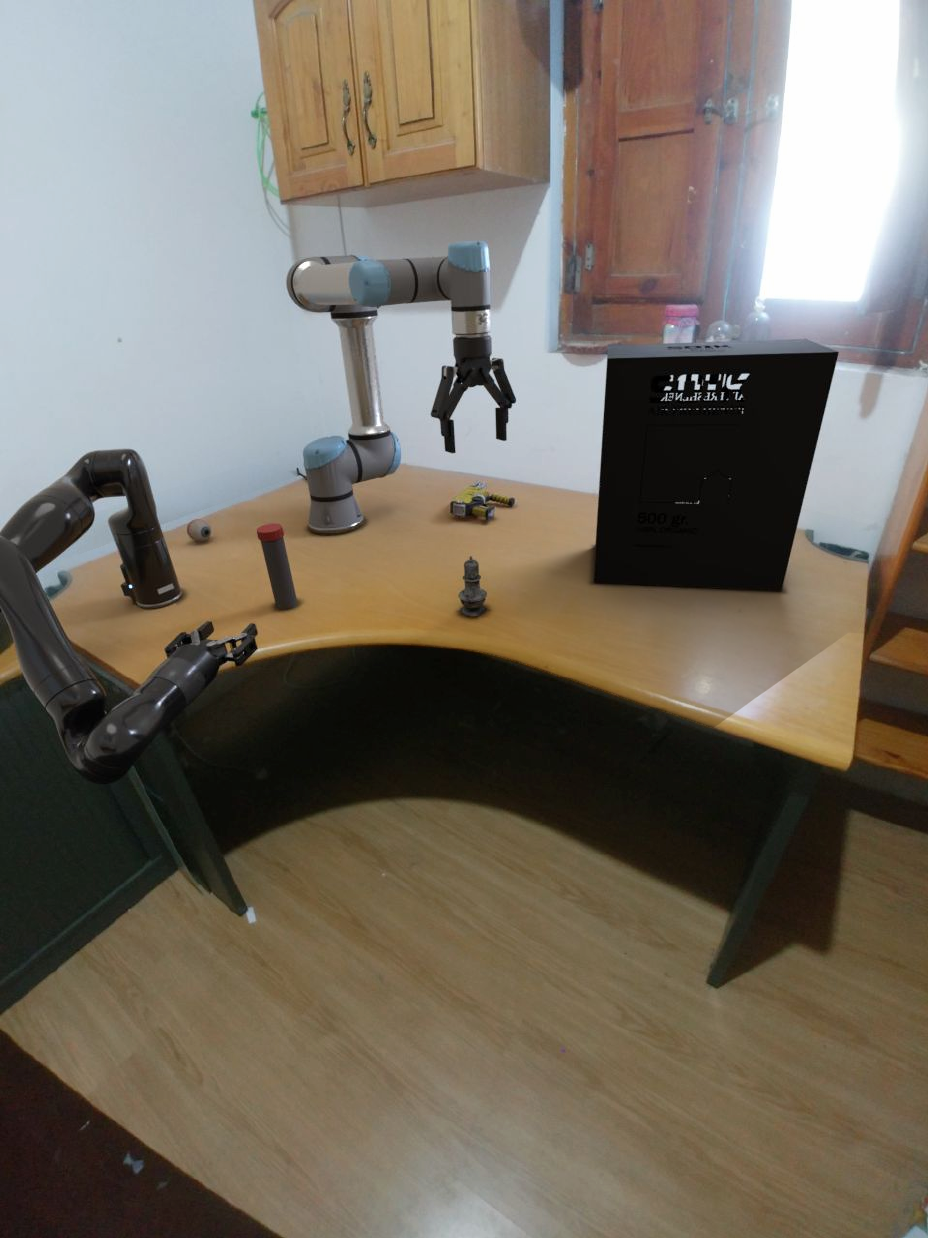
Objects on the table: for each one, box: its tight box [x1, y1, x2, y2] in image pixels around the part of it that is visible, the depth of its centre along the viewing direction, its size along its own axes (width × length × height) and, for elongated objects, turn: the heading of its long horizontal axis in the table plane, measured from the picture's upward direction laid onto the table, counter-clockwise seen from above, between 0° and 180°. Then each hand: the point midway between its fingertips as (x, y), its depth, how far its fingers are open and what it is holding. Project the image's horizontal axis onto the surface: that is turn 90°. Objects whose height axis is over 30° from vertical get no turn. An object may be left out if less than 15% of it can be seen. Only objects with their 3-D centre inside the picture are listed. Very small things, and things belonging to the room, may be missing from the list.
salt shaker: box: [457, 555, 488, 617], centre depth 120 cm, size 6×6×12 cm
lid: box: [256, 522, 285, 542], centre depth 121 cm, size 5×5×2 cm
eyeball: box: [186, 518, 212, 542], centre depth 162 cm, size 6×6×6 cm
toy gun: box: [449, 480, 516, 522], centre depth 174 cm, size 5×24×15 cm
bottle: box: [259, 536, 298, 611], centre depth 125 cm, size 4×4×17 cm
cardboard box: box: [593, 338, 840, 592], centre depth 124 cm, size 38×20×45 cm, turn 78°
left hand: (232, 626), depth 109 cm, fingers open, 8 cm apart
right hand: (476, 445), depth 127 cm, fingers open, 13 cm apart
